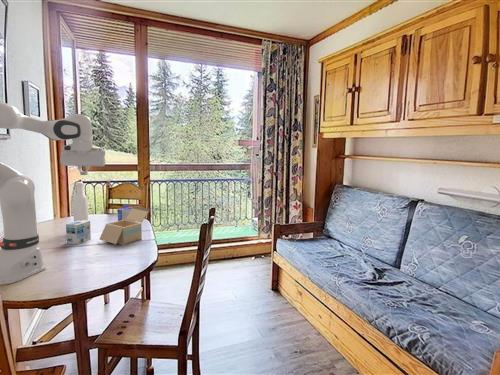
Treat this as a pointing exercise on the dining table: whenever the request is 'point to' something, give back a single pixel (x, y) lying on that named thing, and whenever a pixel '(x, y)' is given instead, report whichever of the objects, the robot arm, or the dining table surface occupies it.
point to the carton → (122, 232)
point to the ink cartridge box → (124, 212)
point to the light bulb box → (78, 232)
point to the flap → (137, 214)
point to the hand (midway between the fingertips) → (83, 174)
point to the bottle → (80, 204)
